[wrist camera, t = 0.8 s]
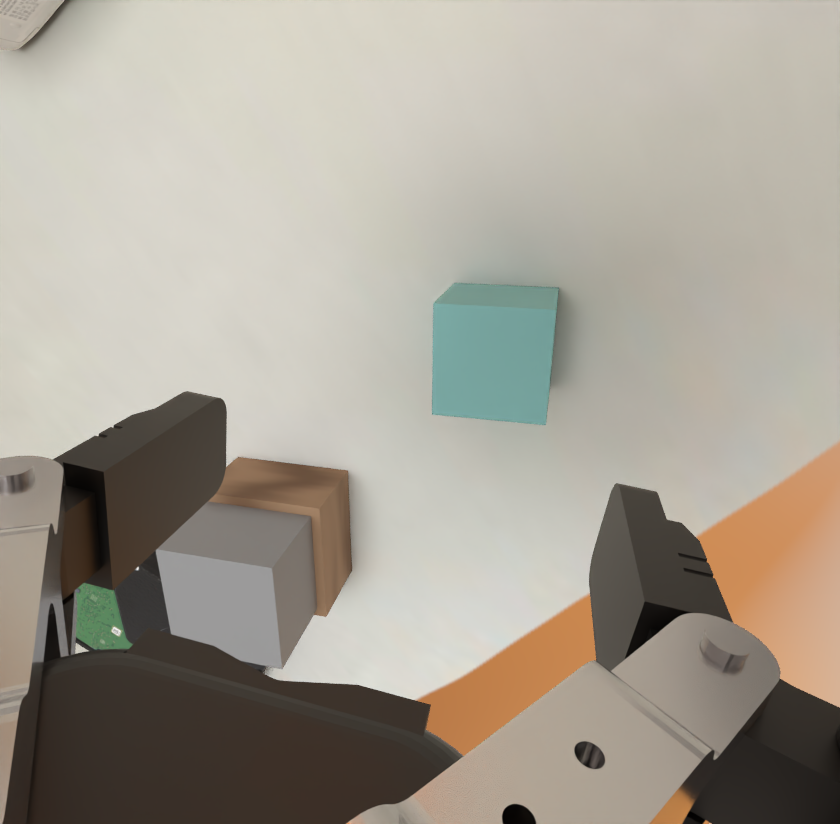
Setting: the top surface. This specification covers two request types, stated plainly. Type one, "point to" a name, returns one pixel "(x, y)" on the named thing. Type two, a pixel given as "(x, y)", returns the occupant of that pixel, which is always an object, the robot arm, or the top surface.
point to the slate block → (241, 581)
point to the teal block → (493, 352)
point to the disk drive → (124, 610)
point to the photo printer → (23, 20)
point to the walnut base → (300, 511)
